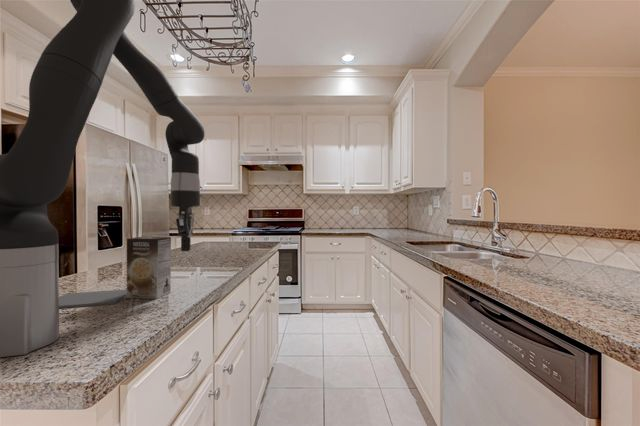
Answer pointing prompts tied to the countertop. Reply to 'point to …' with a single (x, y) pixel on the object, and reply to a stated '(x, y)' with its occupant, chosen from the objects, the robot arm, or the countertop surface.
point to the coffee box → (148, 267)
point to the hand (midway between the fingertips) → (185, 250)
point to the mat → (91, 298)
